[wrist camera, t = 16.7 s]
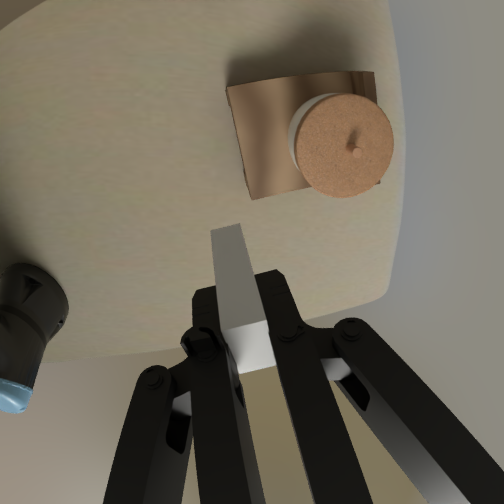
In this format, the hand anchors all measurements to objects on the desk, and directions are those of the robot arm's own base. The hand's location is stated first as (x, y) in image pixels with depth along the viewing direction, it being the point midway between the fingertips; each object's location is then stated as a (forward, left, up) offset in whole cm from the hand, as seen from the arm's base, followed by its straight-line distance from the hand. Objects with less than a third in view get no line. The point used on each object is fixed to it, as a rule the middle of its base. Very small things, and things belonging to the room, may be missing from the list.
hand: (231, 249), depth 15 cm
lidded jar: (+13, 0, -20) cm, 24 cm away
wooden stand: (+11, 0, -24) cm, 27 cm away
